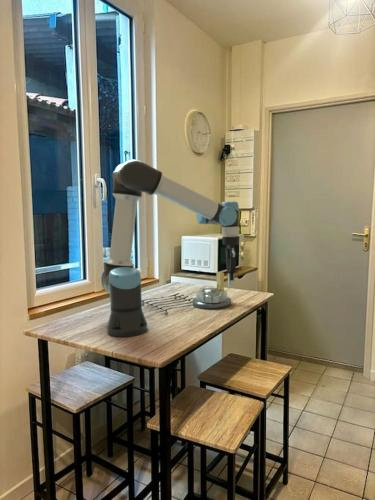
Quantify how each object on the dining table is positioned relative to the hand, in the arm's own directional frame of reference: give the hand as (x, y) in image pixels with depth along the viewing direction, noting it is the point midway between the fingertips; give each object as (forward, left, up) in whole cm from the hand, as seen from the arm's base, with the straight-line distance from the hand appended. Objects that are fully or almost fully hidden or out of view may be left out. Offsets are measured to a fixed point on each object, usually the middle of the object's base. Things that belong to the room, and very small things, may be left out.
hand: (231, 286), depth 177 cm
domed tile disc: (-8, +5, -6) cm, 11 cm away
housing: (-8, +5, -8) cm, 12 cm away
